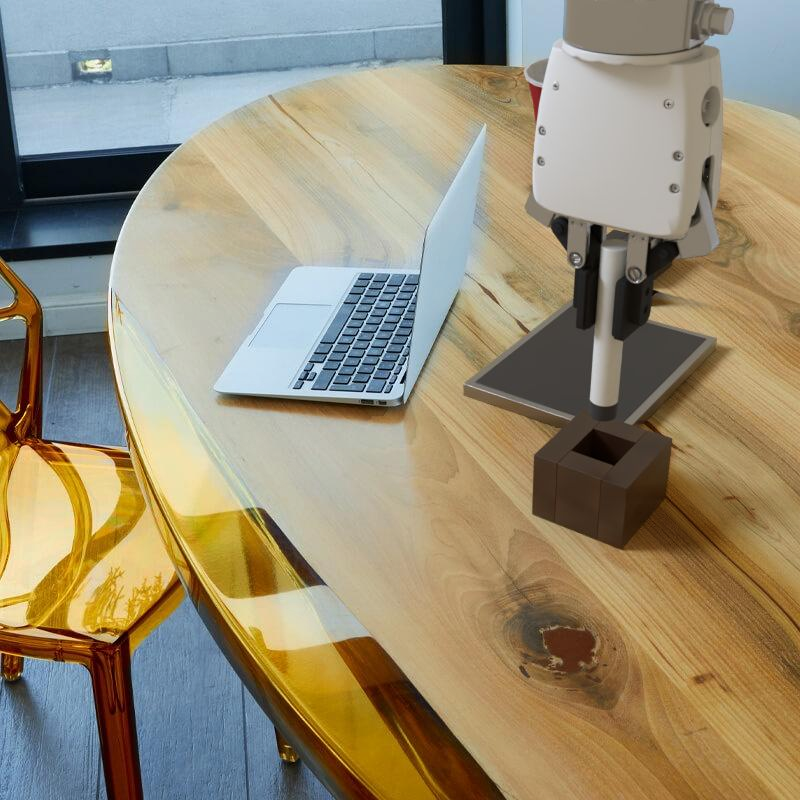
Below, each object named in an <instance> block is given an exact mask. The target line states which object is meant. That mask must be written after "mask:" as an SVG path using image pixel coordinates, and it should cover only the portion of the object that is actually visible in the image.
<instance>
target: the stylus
mask: <svg viewBox="0 0 800 800" xmlns="http://www.w3.org/2000/svg"><path fill="white" fill-rule="evenodd" d="M627 250H628V242H627V241H625V240H620V239H609V240H605V241H603V242H602V243H601V250H600V264H599V278H598V292H597V306H596V320H595V334H594V348H593V362H592V376H591V390H590V399H589V415H590V417H591V418H593V419H595V420H597V421H611V420H613V419H615V418H616V416H617V410H618V395H619V383H620V372H621V361H622V349H623V341H619V340H616V339H614V337H613V336H612V322H613V310H614V298H615V286H616V282H617V281H618V280H619V279H620V278H621V277H623V276H624V273H625V268H626V260H627Z"/></svg>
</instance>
